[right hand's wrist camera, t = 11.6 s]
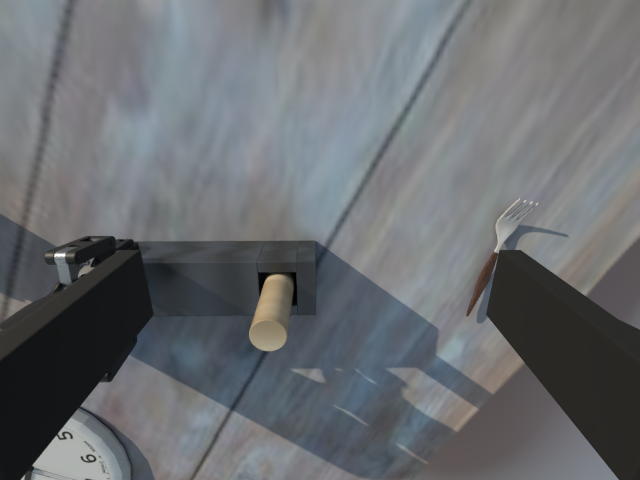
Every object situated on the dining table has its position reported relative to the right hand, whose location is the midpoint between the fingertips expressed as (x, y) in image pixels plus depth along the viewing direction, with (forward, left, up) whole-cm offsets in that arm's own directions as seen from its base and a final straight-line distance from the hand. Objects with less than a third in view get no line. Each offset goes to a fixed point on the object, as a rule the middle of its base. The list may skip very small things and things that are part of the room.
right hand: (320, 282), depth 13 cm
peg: (+4, +12, -26) cm, 29 cm away
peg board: (+12, +12, -26) cm, 31 cm away
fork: (-21, +11, -26) cm, 35 cm away
